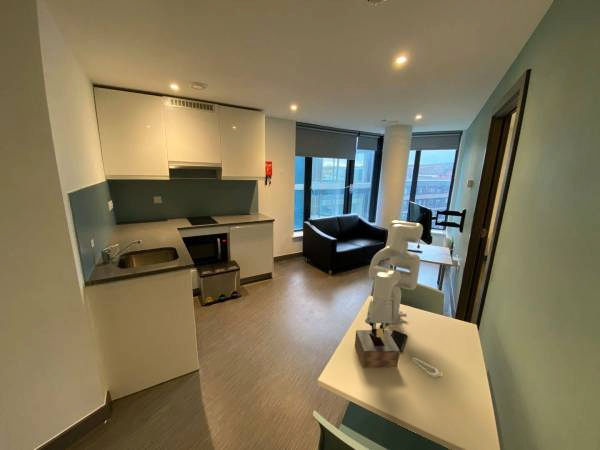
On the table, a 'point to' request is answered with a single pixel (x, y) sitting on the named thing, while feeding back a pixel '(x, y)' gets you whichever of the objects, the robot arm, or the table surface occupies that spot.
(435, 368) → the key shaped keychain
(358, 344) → the box
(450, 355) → the table surface
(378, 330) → the wooden block
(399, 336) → the phone
